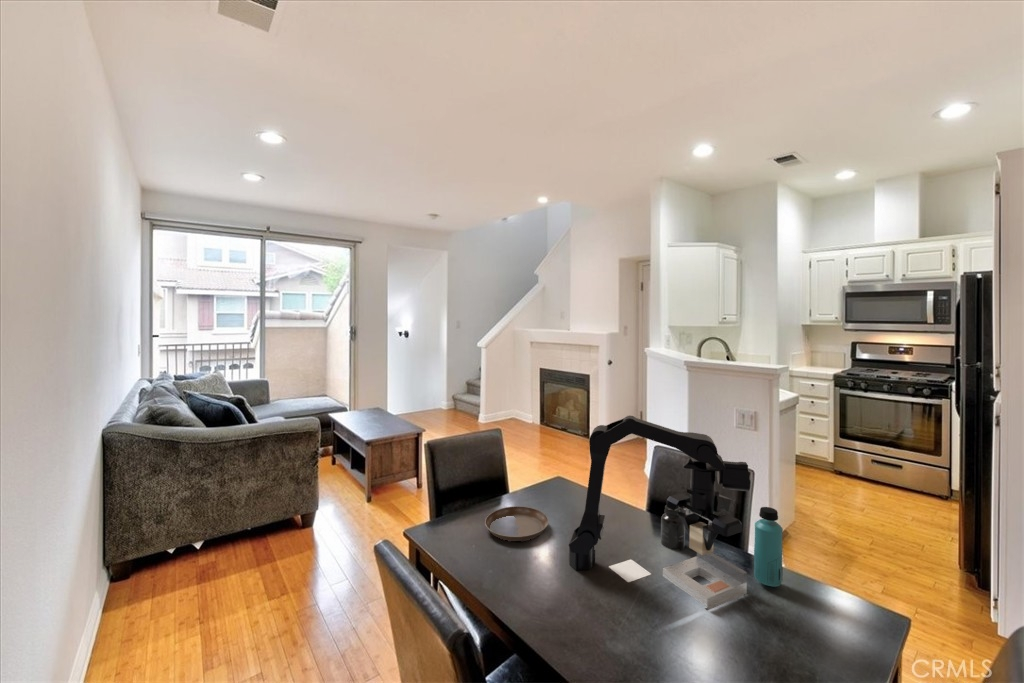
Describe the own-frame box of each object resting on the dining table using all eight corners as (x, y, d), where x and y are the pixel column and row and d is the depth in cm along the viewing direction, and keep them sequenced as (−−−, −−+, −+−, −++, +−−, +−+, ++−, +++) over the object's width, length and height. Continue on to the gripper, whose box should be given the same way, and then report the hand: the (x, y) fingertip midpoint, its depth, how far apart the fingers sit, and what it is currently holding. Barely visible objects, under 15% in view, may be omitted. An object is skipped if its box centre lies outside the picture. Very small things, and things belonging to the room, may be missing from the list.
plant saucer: (503, 552, 131) (503, 541, 130) (474, 524, 149) (474, 514, 148) (560, 535, 141) (560, 525, 140) (527, 510, 159) (527, 501, 158)
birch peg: (702, 555, 110) (702, 531, 109) (689, 547, 113) (689, 524, 113) (713, 551, 112) (713, 528, 111) (700, 544, 115) (700, 521, 115)
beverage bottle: (782, 596, 109) (784, 517, 108) (751, 587, 113) (753, 511, 112) (782, 582, 115) (784, 507, 114) (753, 574, 118) (755, 501, 117)
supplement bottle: (686, 553, 129) (687, 513, 128) (662, 550, 130) (662, 511, 130) (682, 541, 136) (683, 503, 135) (659, 539, 137) (659, 501, 136)
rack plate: (707, 610, 104) (707, 588, 104) (662, 578, 117) (663, 558, 116) (746, 593, 110) (747, 572, 110) (700, 565, 123) (700, 546, 123)
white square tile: (628, 585, 114) (628, 582, 114) (608, 569, 121) (608, 566, 121) (651, 577, 118) (651, 574, 118) (631, 562, 125) (631, 559, 125)
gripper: (758, 493, 107) (756, 556, 108) (695, 469, 123) (694, 523, 124) (726, 502, 102) (725, 567, 103) (665, 475, 118) (664, 532, 119)
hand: (701, 545), depth 112 cm, fingers closed on birch peg, 4 cm apart
